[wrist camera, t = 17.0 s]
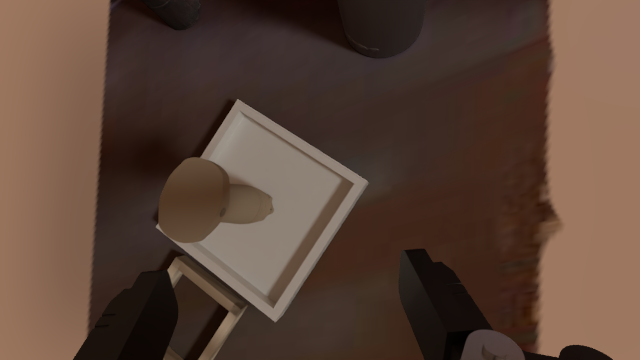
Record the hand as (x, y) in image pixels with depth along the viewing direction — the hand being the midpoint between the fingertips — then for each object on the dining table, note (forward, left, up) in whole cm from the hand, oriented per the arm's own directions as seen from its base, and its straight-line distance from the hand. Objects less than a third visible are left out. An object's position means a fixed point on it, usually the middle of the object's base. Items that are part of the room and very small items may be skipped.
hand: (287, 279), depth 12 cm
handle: (+3, -11, -27) cm, 29 cm away
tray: (+3, -11, -27) cm, 30 cm away
